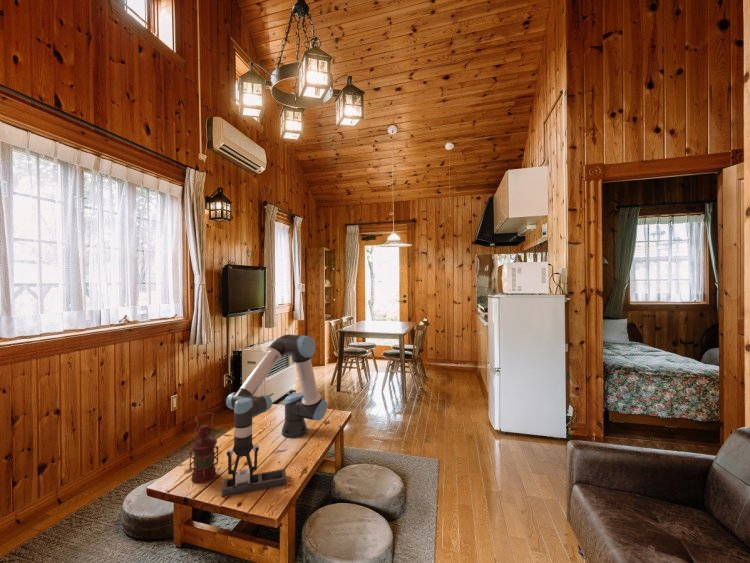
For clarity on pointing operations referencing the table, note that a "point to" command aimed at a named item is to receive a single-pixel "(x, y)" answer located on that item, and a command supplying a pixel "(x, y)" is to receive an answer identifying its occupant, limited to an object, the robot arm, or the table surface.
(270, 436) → the table surface
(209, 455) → the lantern
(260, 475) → the dark grey divided frame
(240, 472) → the block
